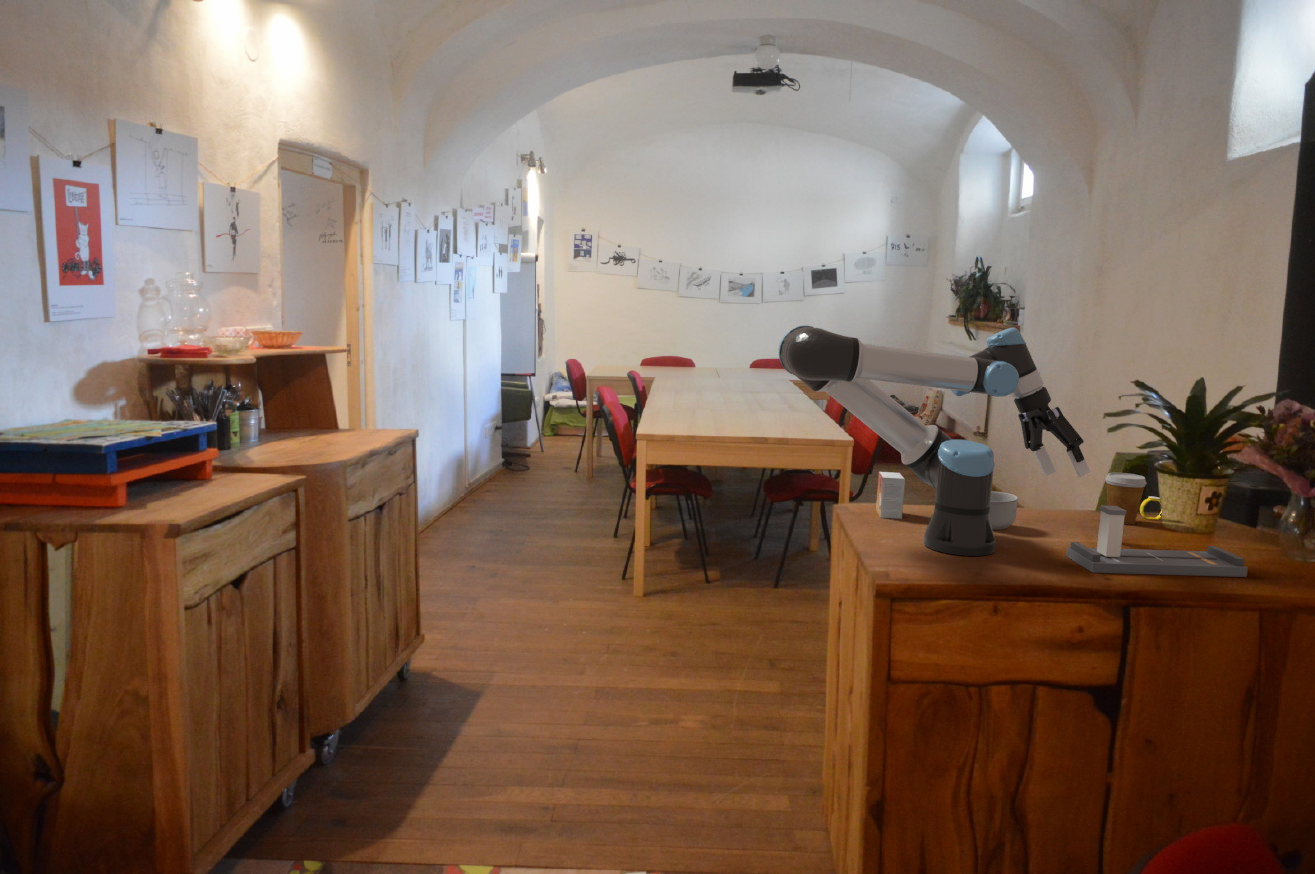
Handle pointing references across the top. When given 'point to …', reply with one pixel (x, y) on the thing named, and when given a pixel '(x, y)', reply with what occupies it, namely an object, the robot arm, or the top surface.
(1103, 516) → the fader knob
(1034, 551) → the top surface
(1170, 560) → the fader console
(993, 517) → the teacup
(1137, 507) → the disposable coffee cup
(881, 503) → the small box
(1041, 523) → the top surface
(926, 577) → the top surface
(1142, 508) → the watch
